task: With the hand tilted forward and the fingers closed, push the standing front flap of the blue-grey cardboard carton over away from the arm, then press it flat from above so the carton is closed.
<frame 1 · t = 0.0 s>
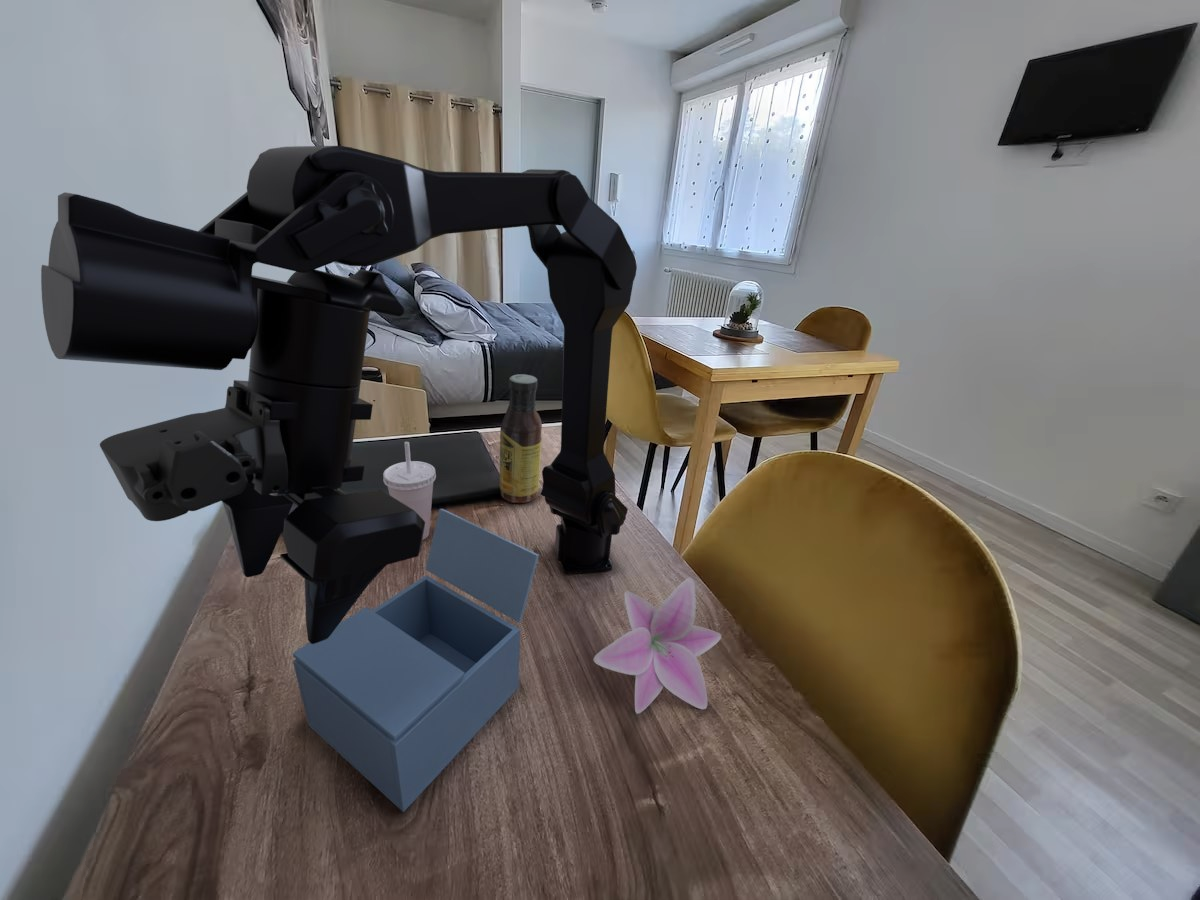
hand: (283, 605, 32), 15 cm above the table, tool pointing down, fingers open, 9 cm apart
smoothie: (415, 535, 66), on the table
sauce bottle: (519, 497, 78), on the table
flap: (478, 562, 45), point 11 cm above the table, hinge at 110.0°
carton: (419, 705, 43), on the table
lily: (654, 681, 48), on the table
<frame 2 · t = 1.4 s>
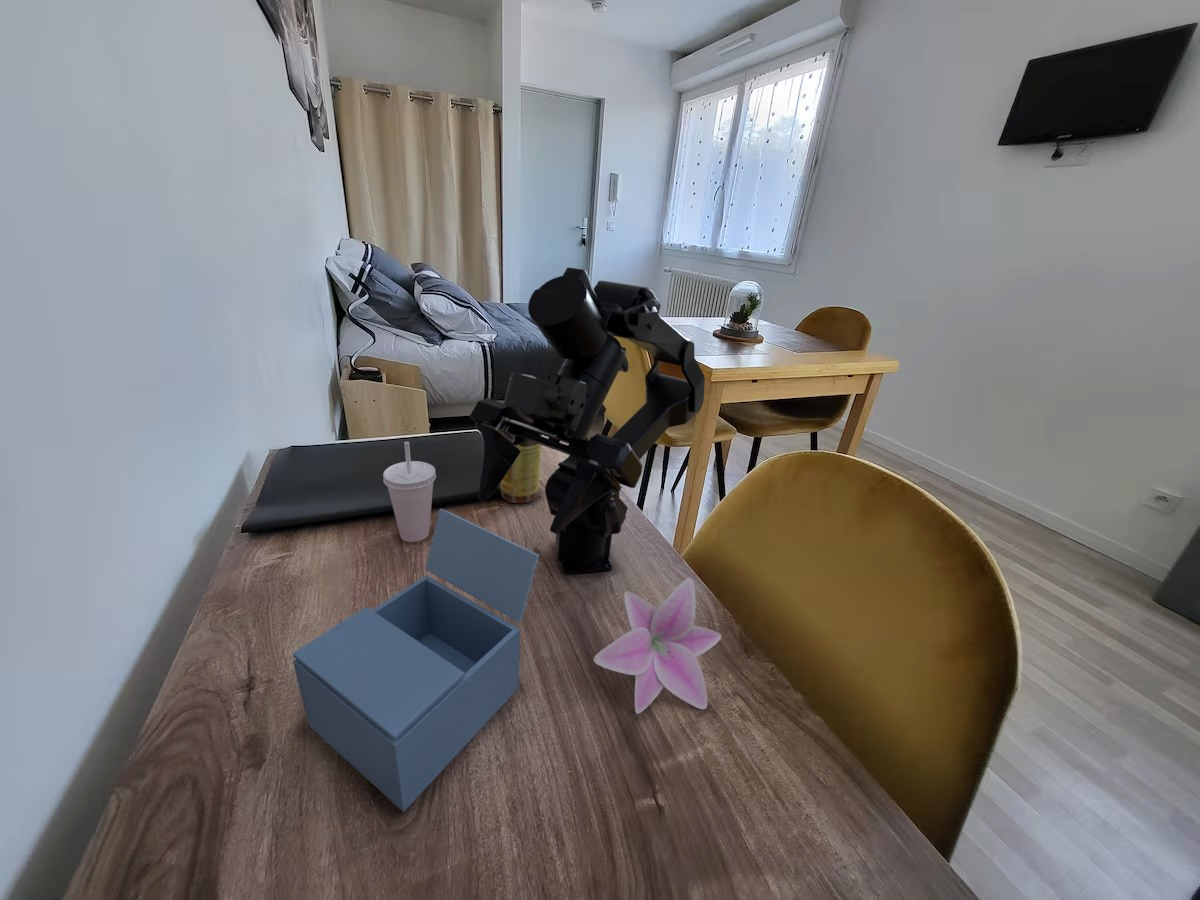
hand: (515, 515, 48), 14 cm above the table, tool tilted 45°, fingers open, 9 cm apart
nothing on the table moved.
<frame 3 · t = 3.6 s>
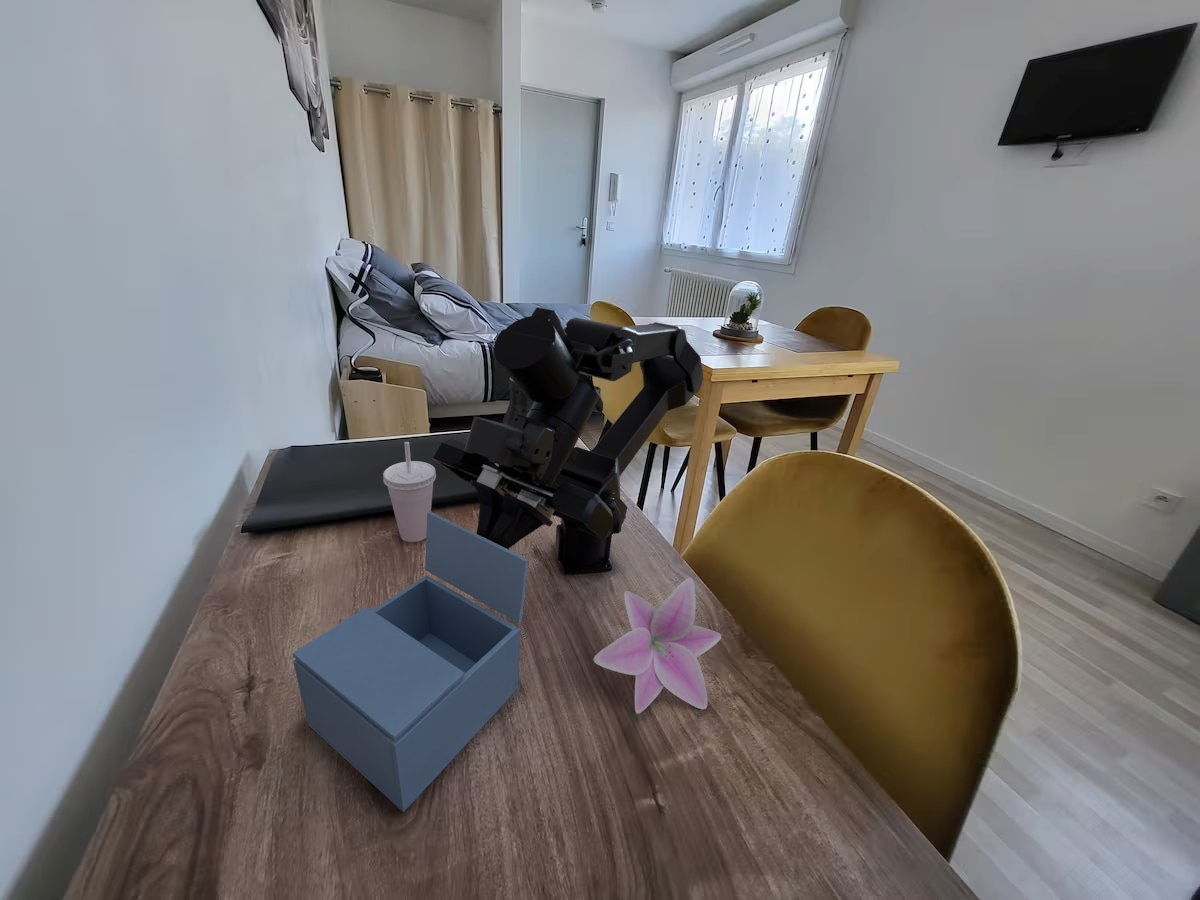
hand: (476, 567, 45), 11 cm above the table, tool tilted 45°, fingers closed, pressing on flap
flap: (472, 565, 44), point 11 cm above the table, hinge at 96.5°, touching gripper
everything else where it was.
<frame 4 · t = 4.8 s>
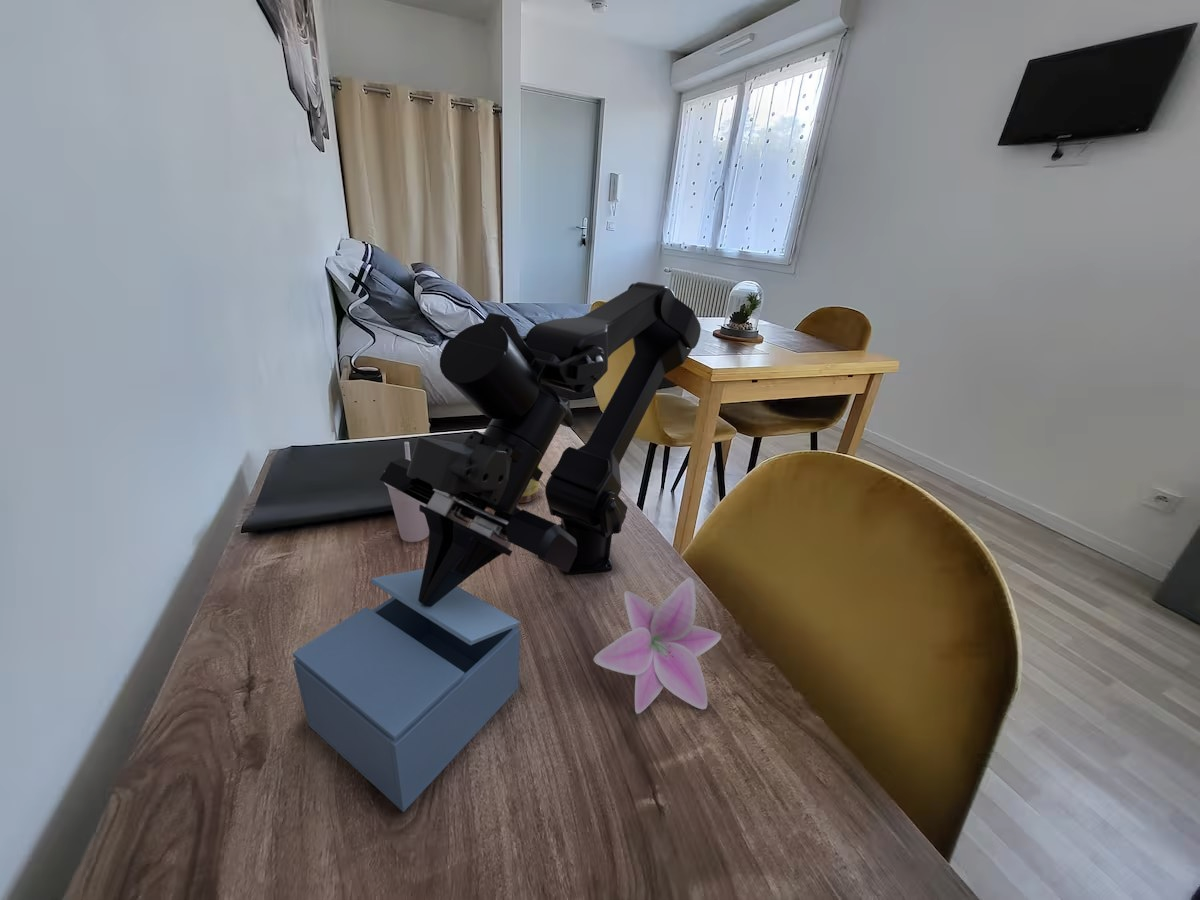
hand: (424, 604, 40), 11 cm above the table, tool tilted 45°, fingers closed
flap: (445, 601, 42), point 9 cm above the table, hinge at 24.0°
everything else where it was.
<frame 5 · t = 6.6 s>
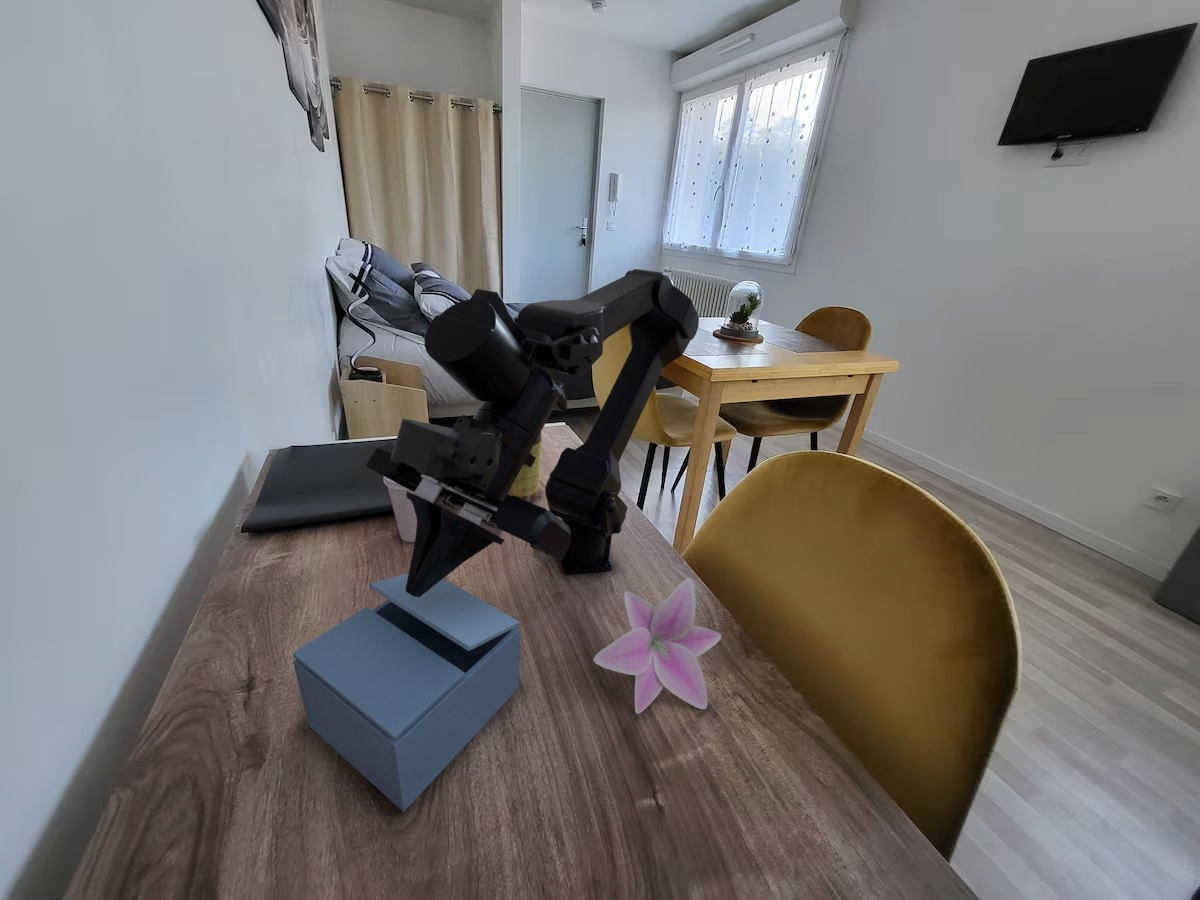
hand: (412, 594, 38), 13 cm above the table, tool tilted 45°, fingers closed
flap: (444, 604, 42), point 9 cm above the table, hinge at 19.7°
everything else where it was.
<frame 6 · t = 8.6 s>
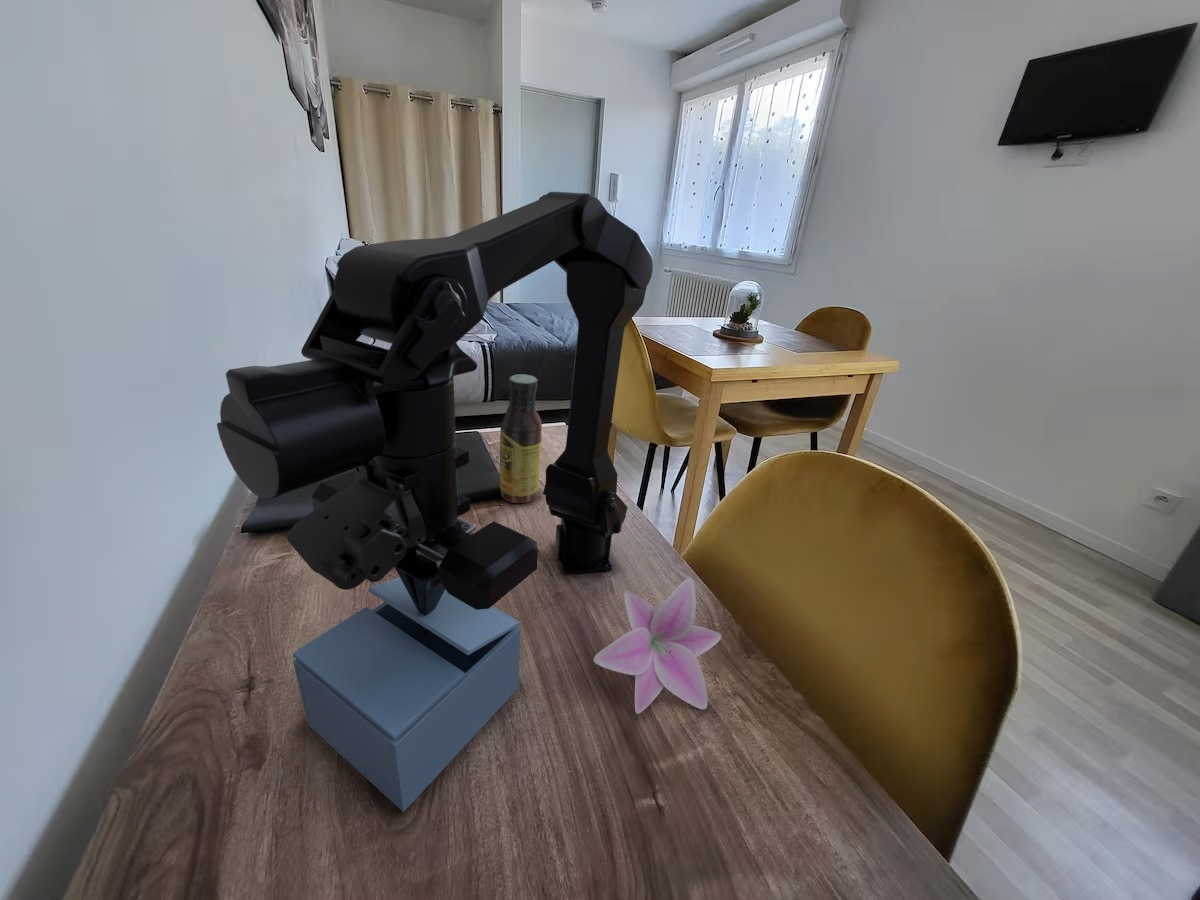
hand: (427, 611, 41), 10 cm above the table, tool pointing down, fingers closed, pressing on flap
flap: (444, 606, 42), point 9 cm above the table, hinge at 16.4°, touching gripper
everything else where it was.
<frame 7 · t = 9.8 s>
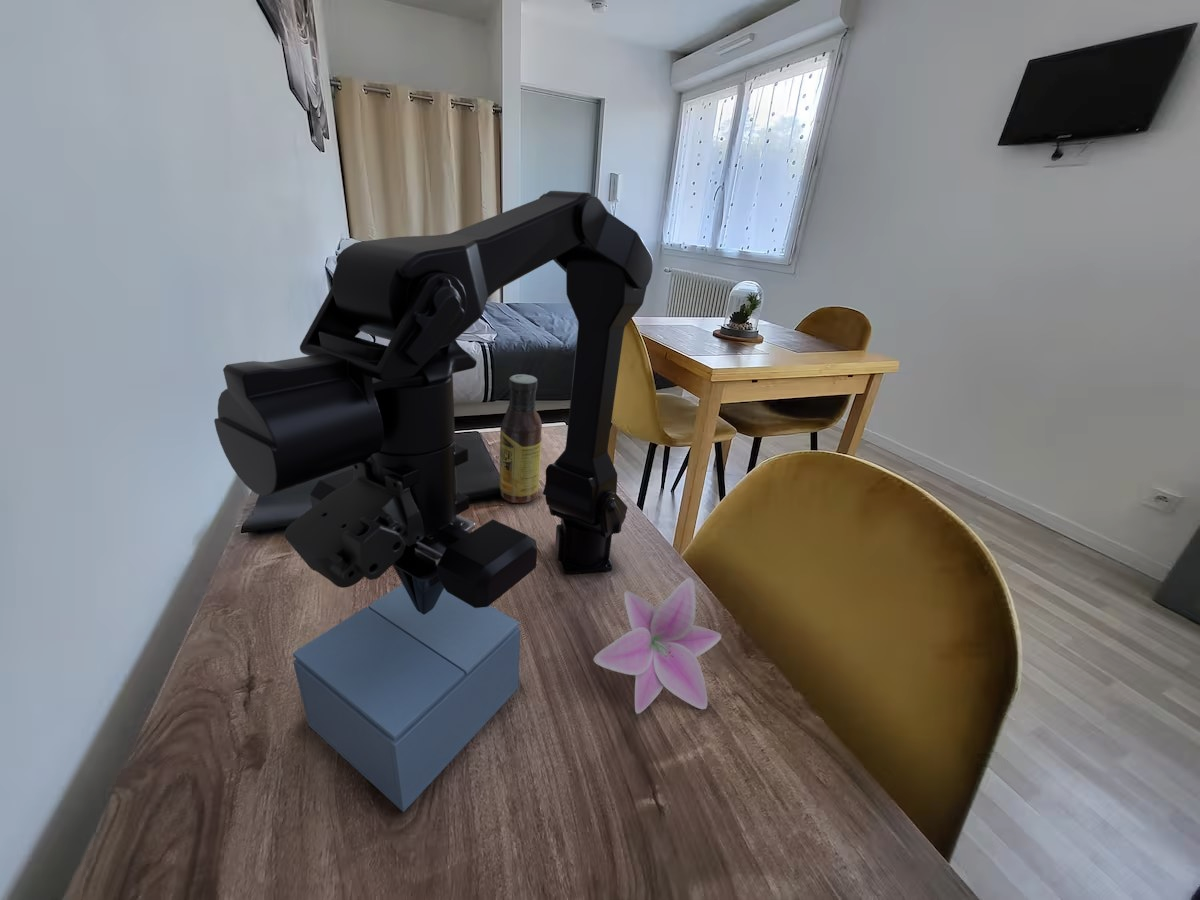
hand: (425, 610, 40), 10 cm above the table, tool pointing down, fingers closed
flap: (443, 615, 43), point 8 cm above the table, hinge at -0.4°
everything else where it was.
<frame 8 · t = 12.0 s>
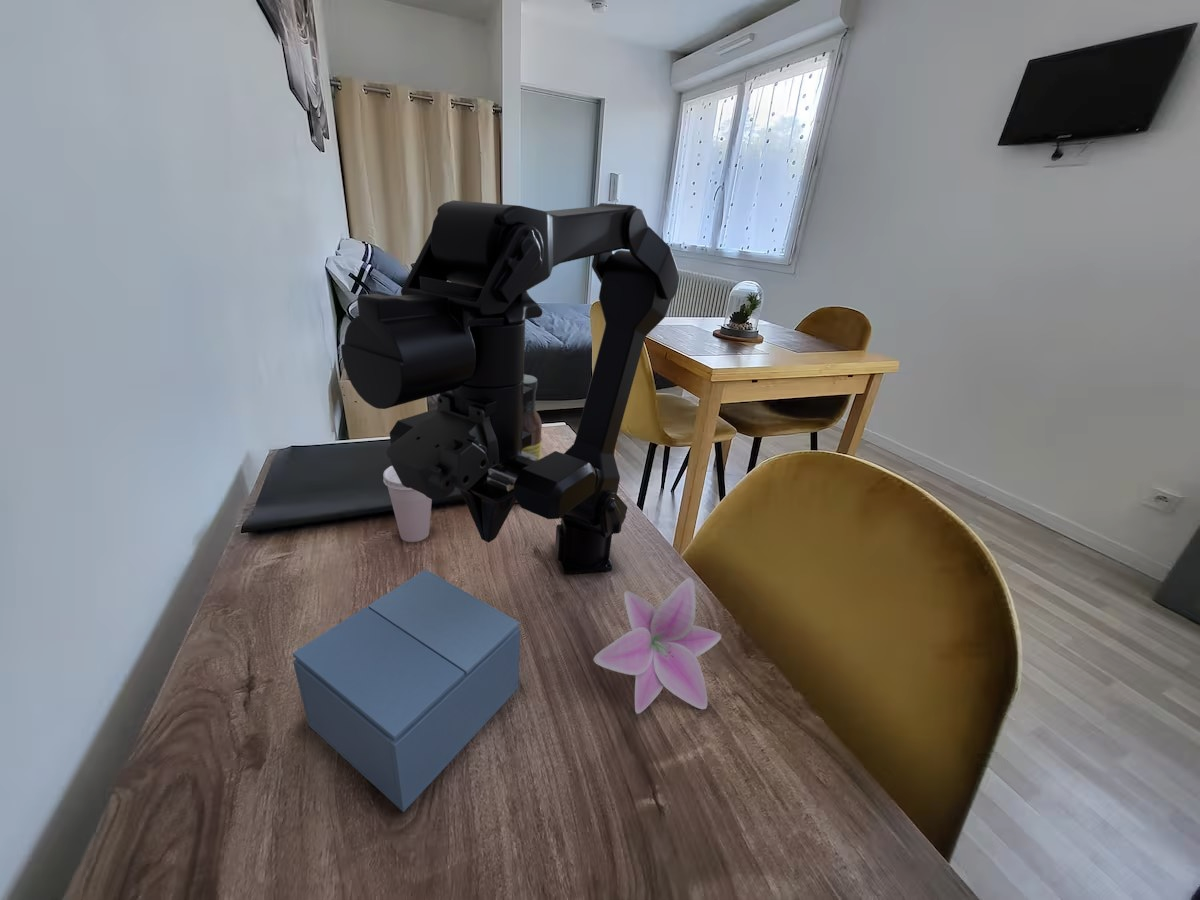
hand: (488, 539, 45), 13 cm above the table, tool pointing down, fingers closed
nothing on the table moved.
at the end: flap at +0° (first picture: +110°); smoothie moved 0.2 cm from its start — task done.
